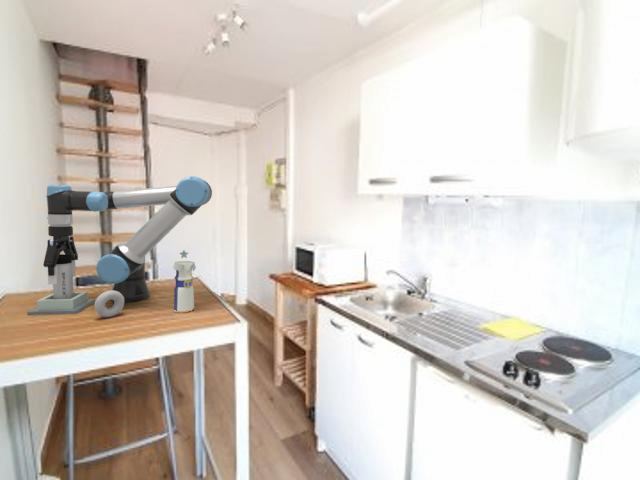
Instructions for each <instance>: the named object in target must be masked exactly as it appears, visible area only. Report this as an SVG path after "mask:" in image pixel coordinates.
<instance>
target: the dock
mask: <svg viewBox="0 0 640 480" xmlns="http://www.w3.org/2000/svg"><path fill="white" fill-rule="evenodd" d="M73 296H74V297H73V298H71V299H54V298H53V292H52V293H50V294H48V295H46V296H44V297H41V298H40V299H38V300H36V302H37V303H36V305H37V306H36V307H34V308H32V309H30V310H28V311H27V316H39V315H46V316H47V315H75V314H79V313H81V312H82V311H83V310H85V309H87V308H88V307H89V306H91V305H93V304H95V301H96V298H88V291H73Z"/></svg>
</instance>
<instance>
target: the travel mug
mask: <svg viewBox="0 0 640 480" xmlns="http://www.w3.org/2000/svg"><path fill="white" fill-rule="evenodd" d="M71 260H72V256H70V255H65V253H64V254H62V253H60V255H59V258H58V261H57V263H56V266H55V267H57V276H58V284H52V293H53V298H54V299H71V298H73V297H74V296H73V292H74V279H73V277H74V276H73V273H72V261H71Z"/></svg>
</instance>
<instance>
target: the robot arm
mask: <svg viewBox="0 0 640 480" xmlns="http://www.w3.org/2000/svg"><path fill="white" fill-rule="evenodd" d="M212 195H213V189H212V187H211V185H210V184H209V183H208V182H207V181H206V180H204V179H203V178H201V177H198V176H192V175H191V176H186V177H184V178H182V179H180V181H178V183H177V185H173V186H172V185H171V186H170V185H169V186H161V187H150V188H149V187H148V188H138V189H126V190H114V191H102V192H101V191H95V190H93V191H90V190H89V191H85V190H84V191H83V190H81V191H80V190H72V187H71V185H65V184H48V185H47V187H46V196H45V197H46V202H47V204H46V205H47V217H46V219H47V223H48V224H47V225H49V226H48V227H47V230H48V236H49V237H53V238H52V239H48V240H47V247H46V251H45V254H44V260H43V264H42V265H43V267H44V268H47V284H48V285H53V284H58V276H57V267H55V266H56V263H57V261H58V258H59V255H60V254H61V252H63V253H64V255H70V256H72V260H71V261H72V273H73V277H76V261H78V260H79V255H78V251H77V248H76V244H75V241H74V236H73V235H74V228H73V226H72V225H74V222H73V211H80V212H83V211H85V212H105V211H110V210H119V209H129V208H130V209H132V208H140V207H142V208H143V207H151V206H161V208H160V209H159V210H158V211H157V212H156V213H155V214H154V215H153V216H152V217H151V218H150V219H149V220H147V222H146V223H144V225H143V226H142V227H140V228H139V229H138V231H136V232H135V233H134V234H133V235H132V236H131V237H129V239H128V240H127V241H125V242H120V243H118V244H117V245H116V246H114V247H113V249H112V250H111V251H110V252H109V253H108V254H105V255H103V256H101V258H99V260H98V261H97V262H96V263H97V264H96V273H97V275H98V277H99V278H100V279H101V280H102V281H104V282H106V283H107V284H112V285H113V286H112V289H111V290H114V291H118V292H119V293H121V294H122V295H123V297H124V301H125V302H124V303H132V302H133V301H134V302H139V301H143V299H144V300H146V298H147V299H149V297H150V290H149V286H148V284H147V282H146V262H145V261H146V255H147V254H148V253H150V252H151V251H152V250H153V248H155V247H156V246H157V245H158V243H159V242H161V241H162V240H163V239H164V238H165V237H166V236H167V235H168V234H170V232H171V231H172V230H173V229H175V227H176V226H177V225H178V224H179V223H181V221H182V220H183V219H184V218H185V217H186V216H193V215H194V214H195V213H196V212H197V211H198V210H199V209H200V207H202V206H203V205H206V204H208V203H209V202H210V201H211V198H212V197H213V196H212ZM110 301H112V302H114V300H112V299H110Z"/></svg>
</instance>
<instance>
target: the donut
mask: <svg viewBox="0 0 640 480" xmlns="http://www.w3.org/2000/svg"><path fill="white" fill-rule="evenodd" d="M111 299H112V300H114V301H113V305H112V306H111V307H106V304H107V302H108V301H109V300H110V301H111ZM125 303H126V302H125V301H124V297H123V295H122V294H121V293H119V292H118V291H114V290H112V289H111V290H105V291H104V292H102V293H101V294H99V295H98V296H97V297H96V298H95V302H94V303H93V304H94V305H93V307H94V310H95V312H96V315H98V316H99V317H103V318H111V317H114V316H117V315H118V314H119V313H120V312H121V311H122V310H123V308H124V306H125Z"/></svg>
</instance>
